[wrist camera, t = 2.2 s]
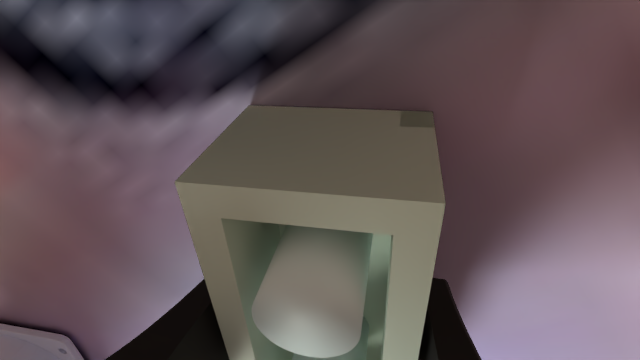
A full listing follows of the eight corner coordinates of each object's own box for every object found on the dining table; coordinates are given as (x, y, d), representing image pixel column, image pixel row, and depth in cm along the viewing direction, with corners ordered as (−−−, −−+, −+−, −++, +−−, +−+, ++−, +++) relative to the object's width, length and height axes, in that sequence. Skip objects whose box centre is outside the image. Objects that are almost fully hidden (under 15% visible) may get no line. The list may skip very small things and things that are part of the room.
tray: (400, 358, 15) (397, 491, 12) (285, 340, 16) (249, 457, 13) (432, 111, 9) (448, 222, 6) (248, 105, 10) (159, 196, 7)
